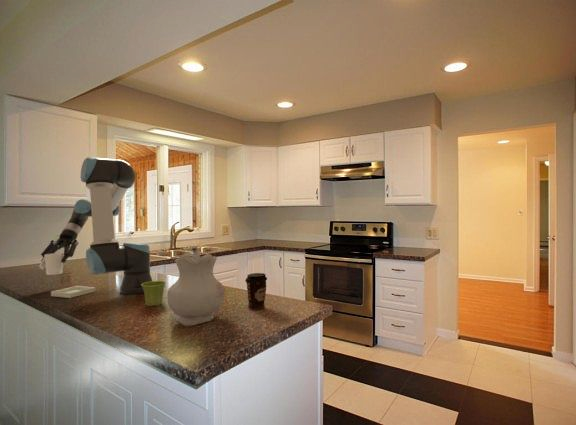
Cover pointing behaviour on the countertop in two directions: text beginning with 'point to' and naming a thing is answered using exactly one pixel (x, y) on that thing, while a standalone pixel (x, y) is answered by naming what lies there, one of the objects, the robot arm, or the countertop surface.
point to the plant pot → (153, 292)
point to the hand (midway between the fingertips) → (49, 267)
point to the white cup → (53, 263)
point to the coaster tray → (73, 291)
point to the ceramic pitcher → (195, 289)
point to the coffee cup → (256, 290)
